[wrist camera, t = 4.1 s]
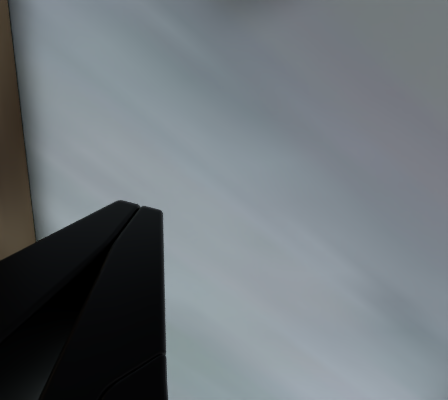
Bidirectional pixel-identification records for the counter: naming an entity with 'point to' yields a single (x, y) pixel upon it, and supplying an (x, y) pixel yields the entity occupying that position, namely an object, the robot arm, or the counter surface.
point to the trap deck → (12, 153)
